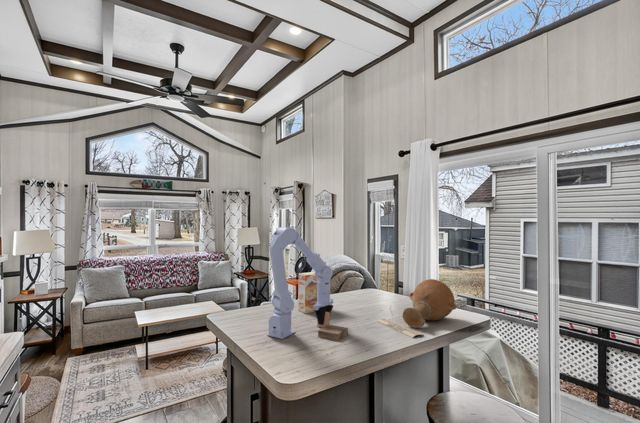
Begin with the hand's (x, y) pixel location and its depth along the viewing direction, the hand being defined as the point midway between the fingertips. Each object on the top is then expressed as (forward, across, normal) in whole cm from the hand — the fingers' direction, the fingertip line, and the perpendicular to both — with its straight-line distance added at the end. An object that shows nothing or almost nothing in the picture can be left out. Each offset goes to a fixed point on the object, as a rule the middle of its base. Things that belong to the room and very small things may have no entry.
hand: (323, 322), depth 145 cm
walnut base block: (+2, -8, -9) cm, 12 cm away
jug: (+2, +32, -38) cm, 49 cm away
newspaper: (+2, +14, -30) cm, 33 cm away
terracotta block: (+1, 0, 0) cm, 1 cm away
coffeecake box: (+2, +21, +18) cm, 28 cm away
